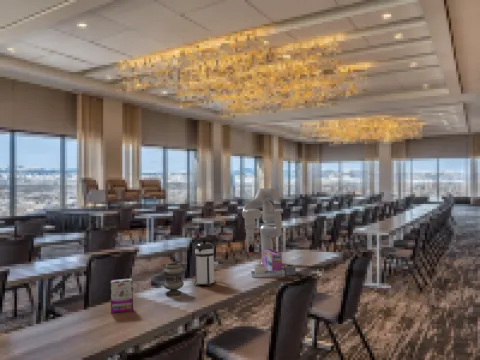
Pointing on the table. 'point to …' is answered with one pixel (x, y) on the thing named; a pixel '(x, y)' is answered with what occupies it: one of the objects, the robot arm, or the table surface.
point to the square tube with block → (289, 269)
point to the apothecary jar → (173, 278)
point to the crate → (259, 269)
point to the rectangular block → (270, 273)
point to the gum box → (272, 260)
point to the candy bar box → (121, 295)
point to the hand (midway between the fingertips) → (250, 251)
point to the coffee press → (204, 263)
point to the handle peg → (250, 252)
